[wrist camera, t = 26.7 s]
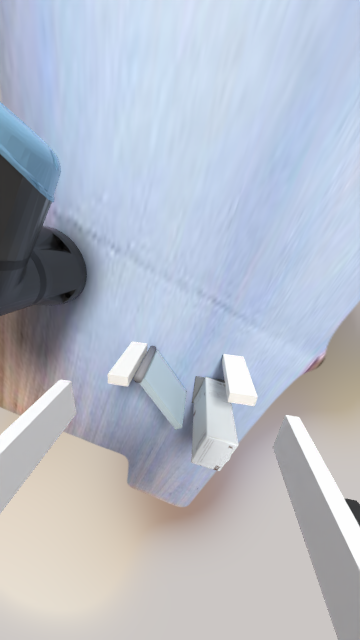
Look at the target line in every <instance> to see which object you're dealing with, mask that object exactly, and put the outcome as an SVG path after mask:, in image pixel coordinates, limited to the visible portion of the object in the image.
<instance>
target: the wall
mask: <svg viewBox="0 0 360 640" xmlns="http://www.w3.org/2000/svg"><path fill="white" fill-rule="evenodd" d="M146 353H147V344H146V343H139V342H131V344H130V345H129V346H128V348H127V349H126V350H125V352H124V353H123V354H122V356H121V357H120V358H119V360H118V361H117V362H116V364H115V365H114V366H113V368H112V369H111V370H110V372H109V373H108V384H115V385H121V386H129V384H130V382H131V380H132V378H133V377H134V375H135V373H136V371H137V369H138V367H139V365H140V364H141V362H142V360H143V358H144V356H145V354H146ZM222 367H223V373H224V380H225V386H226V393H227V400H228V402H231V403H237V404H244V405H250V406H255V404H256V400H257V394H256V391H255V388H254V385H253V382H252V380H251V377H250V374H249V371H248V368H247V365H246V363H245V360H244V357H242V356H234V355H227V354H223V358H222Z"/></svg>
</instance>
